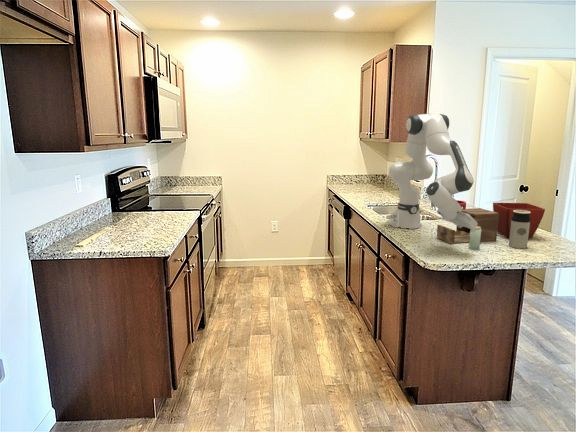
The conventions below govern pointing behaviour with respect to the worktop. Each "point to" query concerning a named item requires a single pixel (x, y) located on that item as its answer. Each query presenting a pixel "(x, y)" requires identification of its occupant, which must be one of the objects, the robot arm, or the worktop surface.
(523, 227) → the travel mug
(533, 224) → the plant pot
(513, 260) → the worktop surface
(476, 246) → the spice jar
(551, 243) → the worktop surface
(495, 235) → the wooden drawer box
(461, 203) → the plant pot
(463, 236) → the wooden drawer
